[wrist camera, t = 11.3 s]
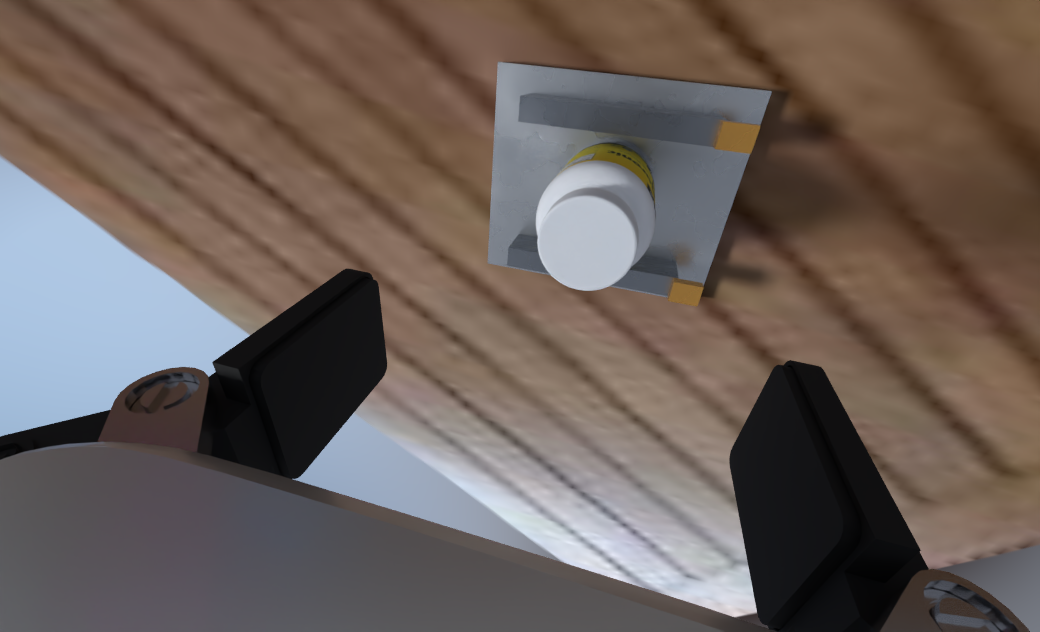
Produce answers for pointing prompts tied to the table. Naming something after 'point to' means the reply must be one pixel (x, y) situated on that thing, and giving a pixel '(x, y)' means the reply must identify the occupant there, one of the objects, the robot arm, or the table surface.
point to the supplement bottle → (596, 217)
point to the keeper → (645, 128)
